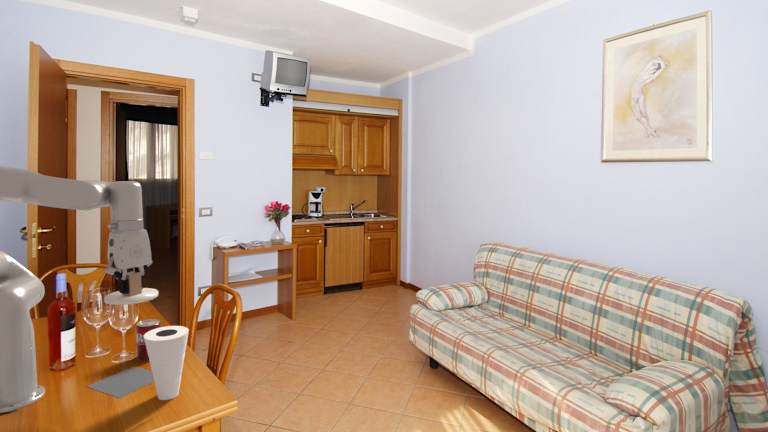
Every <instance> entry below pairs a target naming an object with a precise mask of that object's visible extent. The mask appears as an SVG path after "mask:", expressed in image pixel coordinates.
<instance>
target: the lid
mask: <svg viewBox="0 0 768 432" xmlns="http://www.w3.org/2000/svg"><path fill="white" fill-rule="evenodd" d="M126 279H128V281H129V293H128V294H123V293H120V292H119V290H118V291H117V290H116V291H113V292H111V293H108V294H106V295H105V296H104V299H103V302H104V304H107V305H112V306H115V305H116V306H126V305H135V304H141V303H145V302H149V301H152V300H154V299H156V298H158V297H159V290H158V289H156V288H151V287H150V288H149V287H143V289H142V286H141V273H140V272H134V271H127V278H126Z"/></svg>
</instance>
